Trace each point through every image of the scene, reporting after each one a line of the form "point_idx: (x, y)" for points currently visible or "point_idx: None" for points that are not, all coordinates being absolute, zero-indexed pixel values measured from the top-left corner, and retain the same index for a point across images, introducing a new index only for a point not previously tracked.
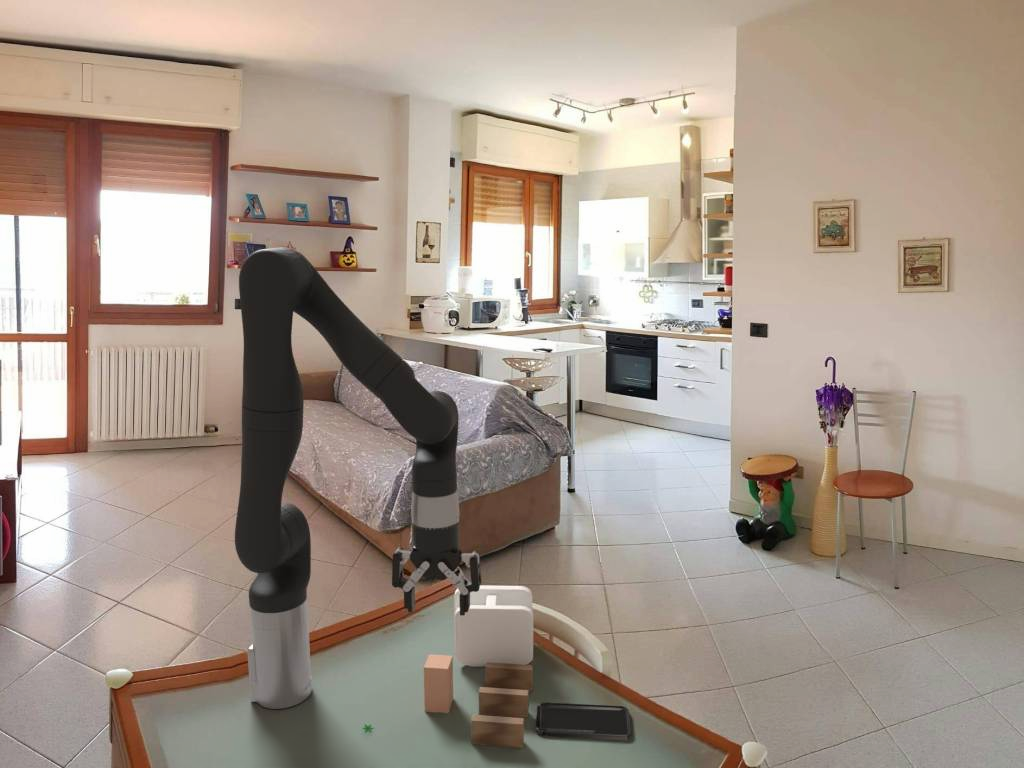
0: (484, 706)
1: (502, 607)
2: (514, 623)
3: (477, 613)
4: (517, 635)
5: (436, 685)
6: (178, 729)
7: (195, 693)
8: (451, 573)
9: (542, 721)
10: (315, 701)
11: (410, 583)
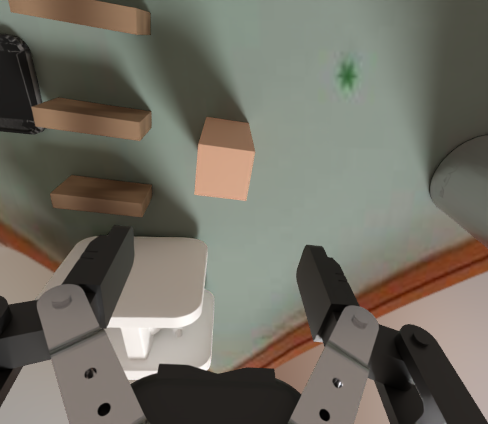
0: (136, 113)
1: None
2: None
3: (151, 307)
4: None
5: (226, 134)
6: None
7: None
8: (81, 413)
9: (19, 75)
10: (427, 155)
11: (350, 343)
